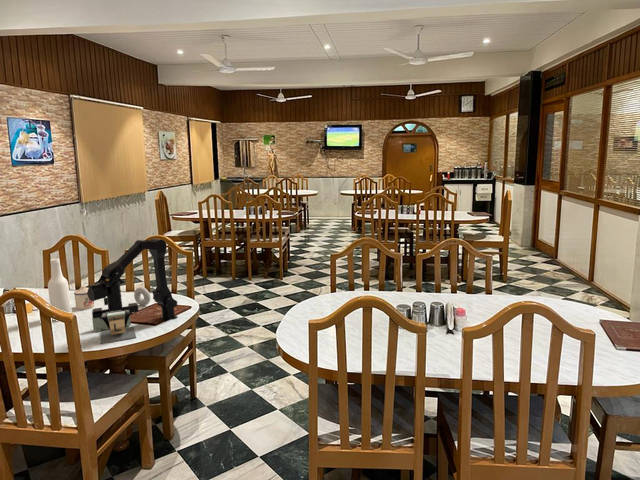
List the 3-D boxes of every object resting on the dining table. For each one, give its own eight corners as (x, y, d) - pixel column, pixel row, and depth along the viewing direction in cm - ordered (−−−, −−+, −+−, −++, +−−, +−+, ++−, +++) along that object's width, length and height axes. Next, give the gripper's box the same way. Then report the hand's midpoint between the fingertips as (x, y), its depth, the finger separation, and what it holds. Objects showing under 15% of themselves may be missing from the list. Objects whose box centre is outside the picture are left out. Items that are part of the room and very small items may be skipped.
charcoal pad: (136, 338, 209) (136, 337, 209) (101, 344, 204) (101, 342, 204) (133, 327, 222) (133, 326, 222) (100, 332, 216) (100, 331, 216)
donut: (152, 305, 253) (151, 287, 251) (148, 307, 250) (146, 289, 248) (138, 303, 257) (136, 285, 255) (133, 305, 254) (131, 287, 252)
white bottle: (53, 322, 231) (45, 262, 225) (51, 317, 238) (43, 258, 232) (73, 318, 236) (66, 259, 230) (70, 313, 243) (63, 256, 237)
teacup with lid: (85, 310, 247) (83, 289, 244) (71, 309, 249) (69, 288, 247) (102, 303, 258) (100, 282, 256) (88, 302, 260) (86, 281, 258)
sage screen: (131, 326, 223) (130, 314, 222) (93, 332, 217) (92, 320, 216) (130, 322, 229) (129, 310, 228) (93, 328, 222) (92, 315, 221)
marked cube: (125, 332, 211) (124, 319, 210) (110, 334, 209) (109, 321, 207) (124, 327, 216) (123, 315, 215) (110, 330, 214) (109, 317, 213)
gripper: (135, 287, 220) (138, 319, 223) (90, 293, 213) (94, 326, 216) (137, 293, 210) (140, 327, 213) (90, 300, 203) (94, 334, 206)
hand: (117, 328), depth 212 cm, fingers closed on marked cube, 6 cm apart
